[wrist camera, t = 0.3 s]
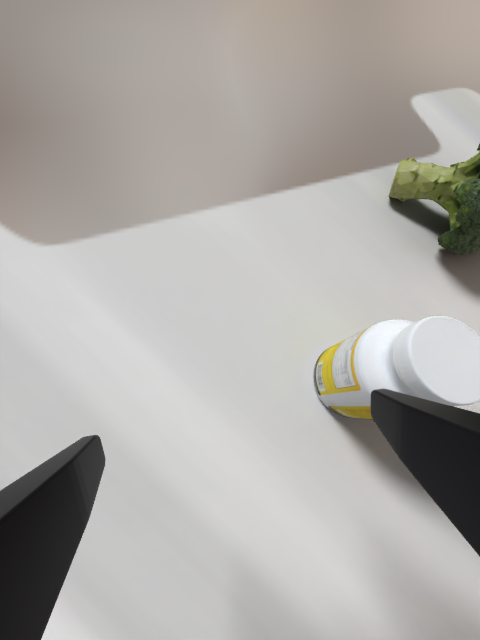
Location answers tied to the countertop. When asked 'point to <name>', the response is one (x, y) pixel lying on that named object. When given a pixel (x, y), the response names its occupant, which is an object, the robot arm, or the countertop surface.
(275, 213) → the countertop surface
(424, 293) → the countertop surface
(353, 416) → the pill bottle
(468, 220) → the vegetable
